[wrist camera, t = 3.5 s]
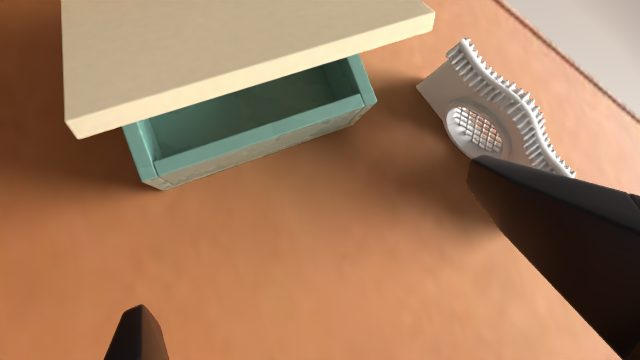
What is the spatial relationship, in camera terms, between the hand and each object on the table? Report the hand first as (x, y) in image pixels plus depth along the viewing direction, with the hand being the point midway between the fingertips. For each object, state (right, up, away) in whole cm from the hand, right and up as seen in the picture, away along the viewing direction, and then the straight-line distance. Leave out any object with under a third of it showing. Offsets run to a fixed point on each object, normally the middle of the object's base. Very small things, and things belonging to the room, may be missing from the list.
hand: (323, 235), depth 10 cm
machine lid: (-4, +8, +5) cm, 10 cm away
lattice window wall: (+10, +3, +15) cm, 18 cm away
